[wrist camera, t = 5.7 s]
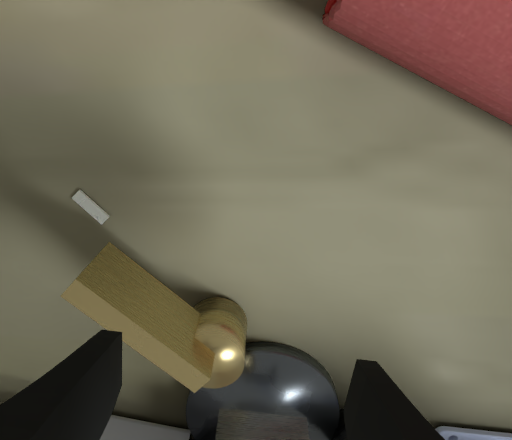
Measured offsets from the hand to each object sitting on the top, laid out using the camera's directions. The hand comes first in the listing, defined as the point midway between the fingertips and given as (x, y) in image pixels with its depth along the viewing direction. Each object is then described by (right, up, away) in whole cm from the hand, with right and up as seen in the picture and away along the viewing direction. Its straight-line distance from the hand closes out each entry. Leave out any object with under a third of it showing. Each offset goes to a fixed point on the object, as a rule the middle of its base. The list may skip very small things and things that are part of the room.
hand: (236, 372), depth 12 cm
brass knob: (-3, +1, +8) cm, 9 cm away
